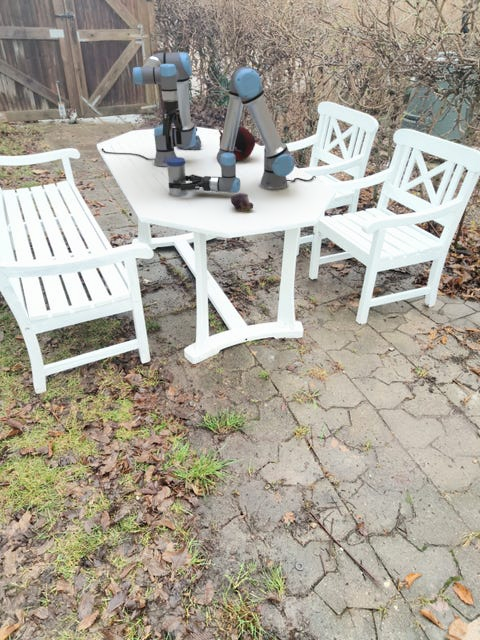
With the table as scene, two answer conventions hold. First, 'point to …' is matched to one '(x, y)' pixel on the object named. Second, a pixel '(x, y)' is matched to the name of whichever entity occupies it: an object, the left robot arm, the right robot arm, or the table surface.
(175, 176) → the jar
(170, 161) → the lid
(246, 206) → the rock
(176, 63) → the left robot arm
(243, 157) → the dark red rounded piece
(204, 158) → the table surface
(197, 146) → the koala plush
